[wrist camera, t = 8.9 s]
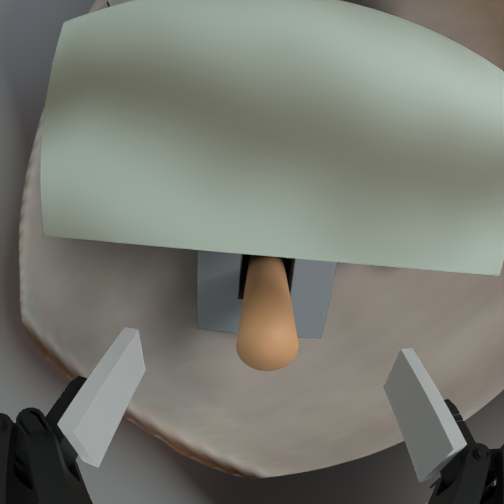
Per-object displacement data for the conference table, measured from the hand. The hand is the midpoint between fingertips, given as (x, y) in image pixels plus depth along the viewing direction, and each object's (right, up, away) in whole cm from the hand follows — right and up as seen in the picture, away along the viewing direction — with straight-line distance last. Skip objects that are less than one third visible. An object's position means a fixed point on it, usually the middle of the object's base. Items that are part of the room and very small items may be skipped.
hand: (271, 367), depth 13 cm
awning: (+1, +15, +12) cm, 19 cm away
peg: (+1, +5, +15) cm, 16 cm away
